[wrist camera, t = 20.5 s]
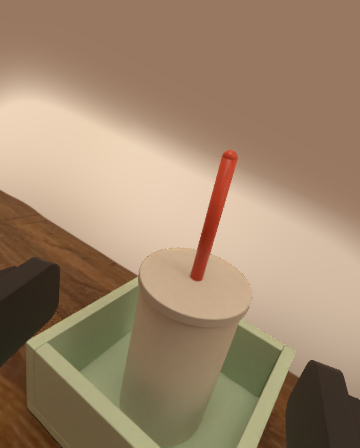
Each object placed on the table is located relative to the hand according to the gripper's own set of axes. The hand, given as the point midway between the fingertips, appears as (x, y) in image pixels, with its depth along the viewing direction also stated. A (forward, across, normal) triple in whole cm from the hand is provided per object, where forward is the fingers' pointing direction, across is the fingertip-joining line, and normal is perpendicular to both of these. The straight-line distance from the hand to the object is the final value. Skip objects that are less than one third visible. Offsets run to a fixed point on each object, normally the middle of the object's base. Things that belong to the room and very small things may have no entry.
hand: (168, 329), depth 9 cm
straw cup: (+7, 0, +13) cm, 14 cm away
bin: (+7, 0, +14) cm, 15 cm away
